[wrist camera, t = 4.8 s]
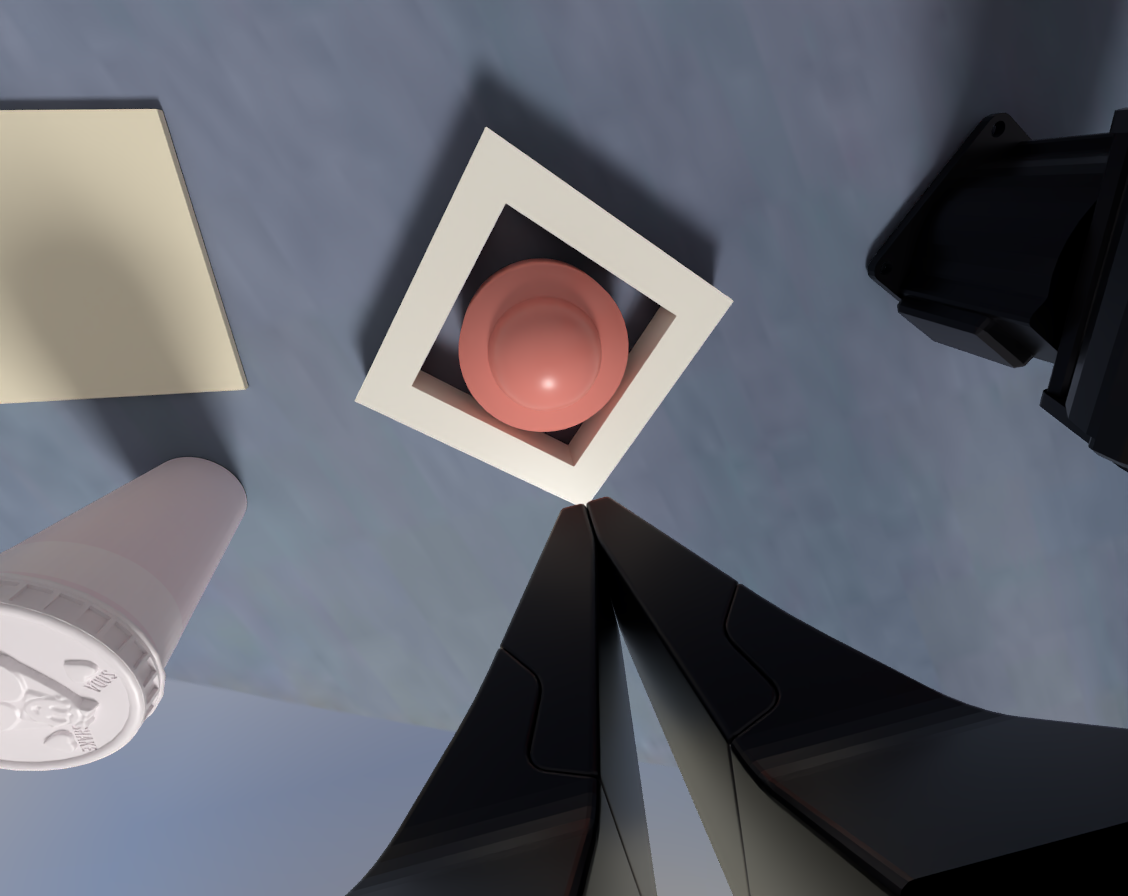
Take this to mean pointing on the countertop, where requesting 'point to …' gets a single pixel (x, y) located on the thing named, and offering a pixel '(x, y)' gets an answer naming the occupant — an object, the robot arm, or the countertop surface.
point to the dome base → (440, 278)
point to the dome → (542, 345)
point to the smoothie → (106, 611)
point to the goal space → (103, 263)
